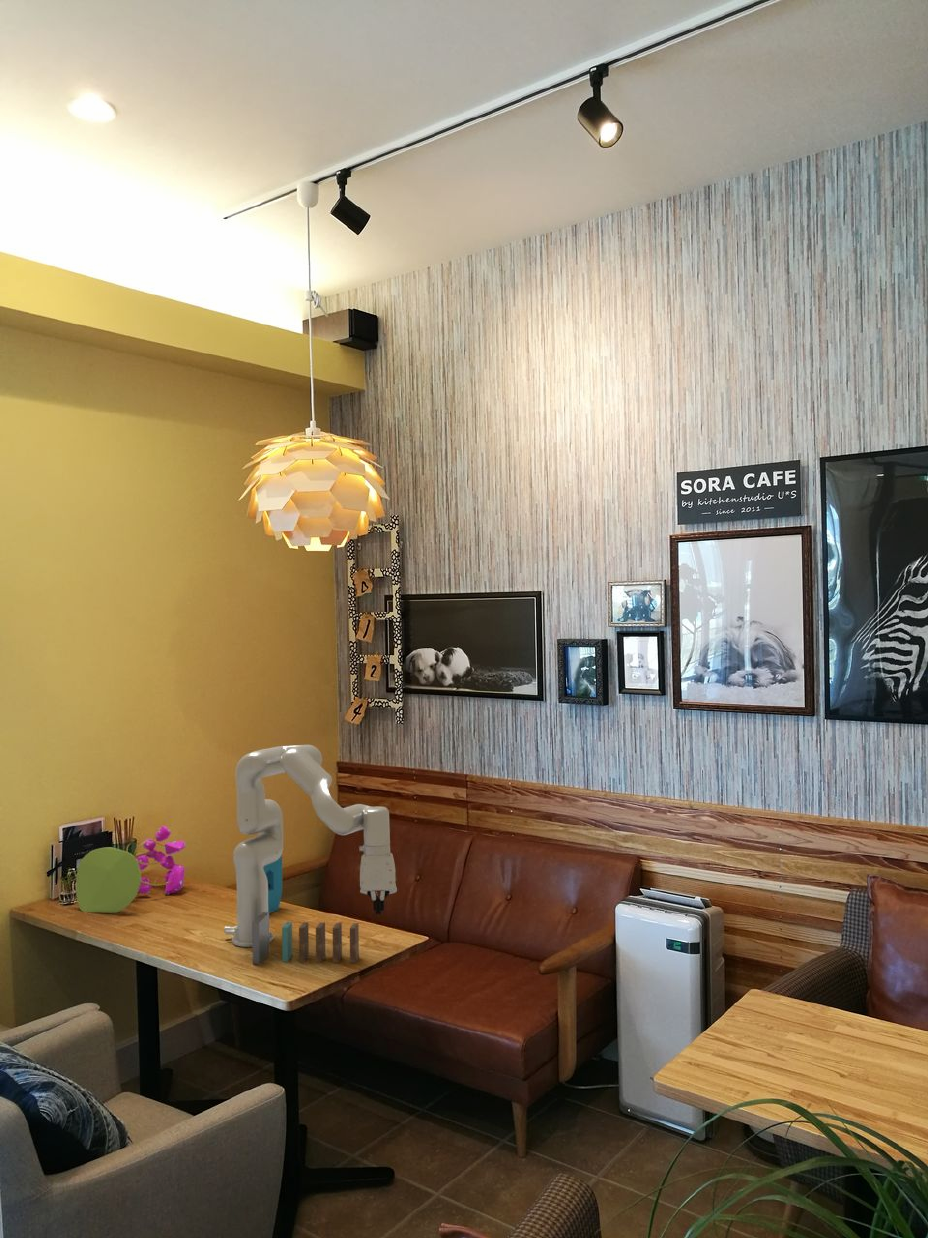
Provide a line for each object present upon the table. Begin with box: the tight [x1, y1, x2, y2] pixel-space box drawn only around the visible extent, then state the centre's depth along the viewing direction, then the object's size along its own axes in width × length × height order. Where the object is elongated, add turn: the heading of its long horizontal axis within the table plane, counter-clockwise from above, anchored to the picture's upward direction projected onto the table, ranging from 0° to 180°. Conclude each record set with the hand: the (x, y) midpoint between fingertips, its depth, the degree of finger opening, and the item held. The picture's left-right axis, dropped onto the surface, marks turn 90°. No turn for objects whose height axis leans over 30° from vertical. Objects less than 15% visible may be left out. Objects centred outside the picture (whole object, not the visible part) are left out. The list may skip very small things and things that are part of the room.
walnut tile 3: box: [315, 921, 326, 963], centre depth 279 cm, size 2×5×10 cm, turn 175°
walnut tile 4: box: [298, 921, 310, 963], centre depth 279 cm, size 2×5×10 cm, turn 175°
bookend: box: [252, 912, 271, 965], centre depth 280 cm, size 2×10×12 cm, turn 175°
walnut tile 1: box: [349, 922, 360, 964], centre depth 278 cm, size 2×5×10 cm, turn 175°
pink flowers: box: [75, 825, 187, 914], centre depth 344 cm, size 30×28×35 cm
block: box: [263, 854, 283, 914], centre depth 326 cm, size 12×5×20 cm, turn 140°
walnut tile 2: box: [332, 922, 343, 964], centre depth 278 cm, size 2×5×10 cm, turn 175°
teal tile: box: [281, 921, 293, 963], centre depth 280 cm, size 2×5×10 cm, turn 175°
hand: (379, 913), depth 277 cm, fingers closed
